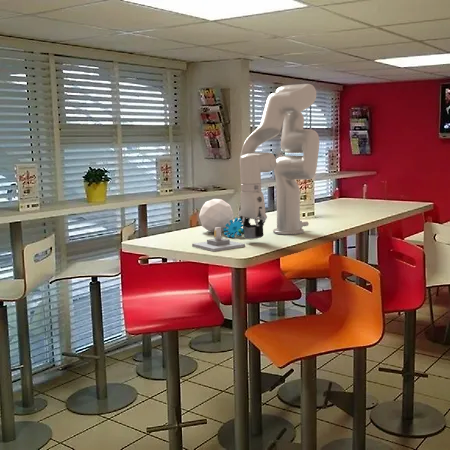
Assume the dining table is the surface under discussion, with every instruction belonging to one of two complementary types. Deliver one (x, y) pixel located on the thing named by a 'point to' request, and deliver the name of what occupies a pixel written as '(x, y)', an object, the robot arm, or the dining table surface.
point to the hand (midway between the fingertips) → (253, 234)
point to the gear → (234, 228)
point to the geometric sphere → (215, 214)
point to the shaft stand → (218, 243)
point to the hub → (250, 232)
